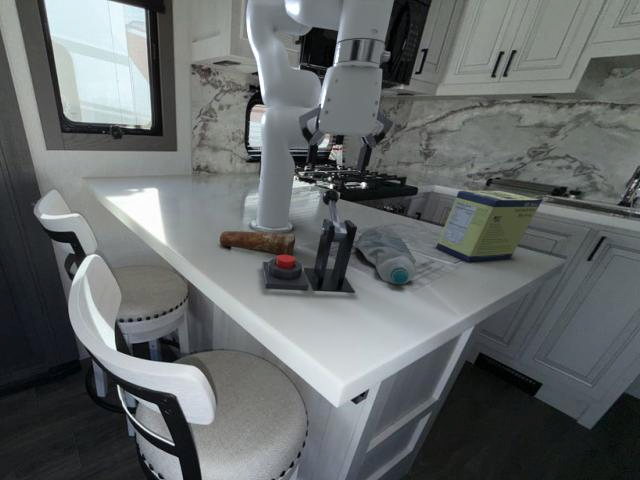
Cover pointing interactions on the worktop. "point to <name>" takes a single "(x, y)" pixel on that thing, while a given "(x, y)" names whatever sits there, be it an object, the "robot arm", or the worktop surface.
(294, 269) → the button block
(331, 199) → the lever
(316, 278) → the bracket
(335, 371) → the worktop surface
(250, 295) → the worktop surface
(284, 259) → the button
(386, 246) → the crushed plastic bottle
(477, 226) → the protein box
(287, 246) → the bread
